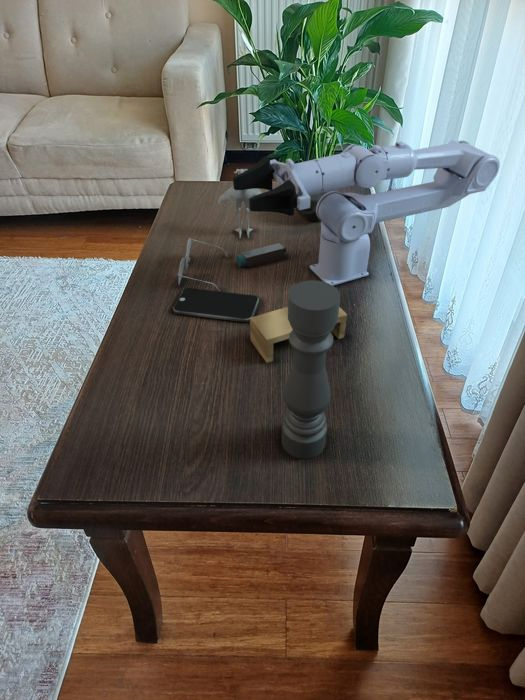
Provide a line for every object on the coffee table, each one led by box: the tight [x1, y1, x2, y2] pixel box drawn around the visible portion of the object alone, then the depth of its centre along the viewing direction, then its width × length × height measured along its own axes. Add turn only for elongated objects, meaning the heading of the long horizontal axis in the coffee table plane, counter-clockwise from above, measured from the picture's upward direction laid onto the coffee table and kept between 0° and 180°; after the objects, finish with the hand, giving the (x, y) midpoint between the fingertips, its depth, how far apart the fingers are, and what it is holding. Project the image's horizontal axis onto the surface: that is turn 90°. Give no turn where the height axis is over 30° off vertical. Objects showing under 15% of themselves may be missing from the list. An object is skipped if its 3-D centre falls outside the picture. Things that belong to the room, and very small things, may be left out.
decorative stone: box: [294, 189, 336, 221], centre depth 121 cm, size 10×10×10 cm
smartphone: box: [172, 287, 260, 323], centre depth 97 cm, size 8×1×15 cm
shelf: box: [249, 306, 348, 364], centre depth 89 cm, size 15×6×5 cm, turn 116°
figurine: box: [217, 168, 263, 239], centre depth 113 cm, size 11×4×15 cm, turn 93°
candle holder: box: [281, 279, 341, 460], centre depth 65 cm, size 6×6×25 cm
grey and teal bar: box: [236, 242, 287, 268], centre depth 109 cm, size 11×2×2 cm, turn 116°
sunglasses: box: [177, 237, 229, 292], centre depth 105 cm, size 14×8×5 cm, turn 176°
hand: (241, 194), depth 87 cm, fingers open, 7 cm apart
